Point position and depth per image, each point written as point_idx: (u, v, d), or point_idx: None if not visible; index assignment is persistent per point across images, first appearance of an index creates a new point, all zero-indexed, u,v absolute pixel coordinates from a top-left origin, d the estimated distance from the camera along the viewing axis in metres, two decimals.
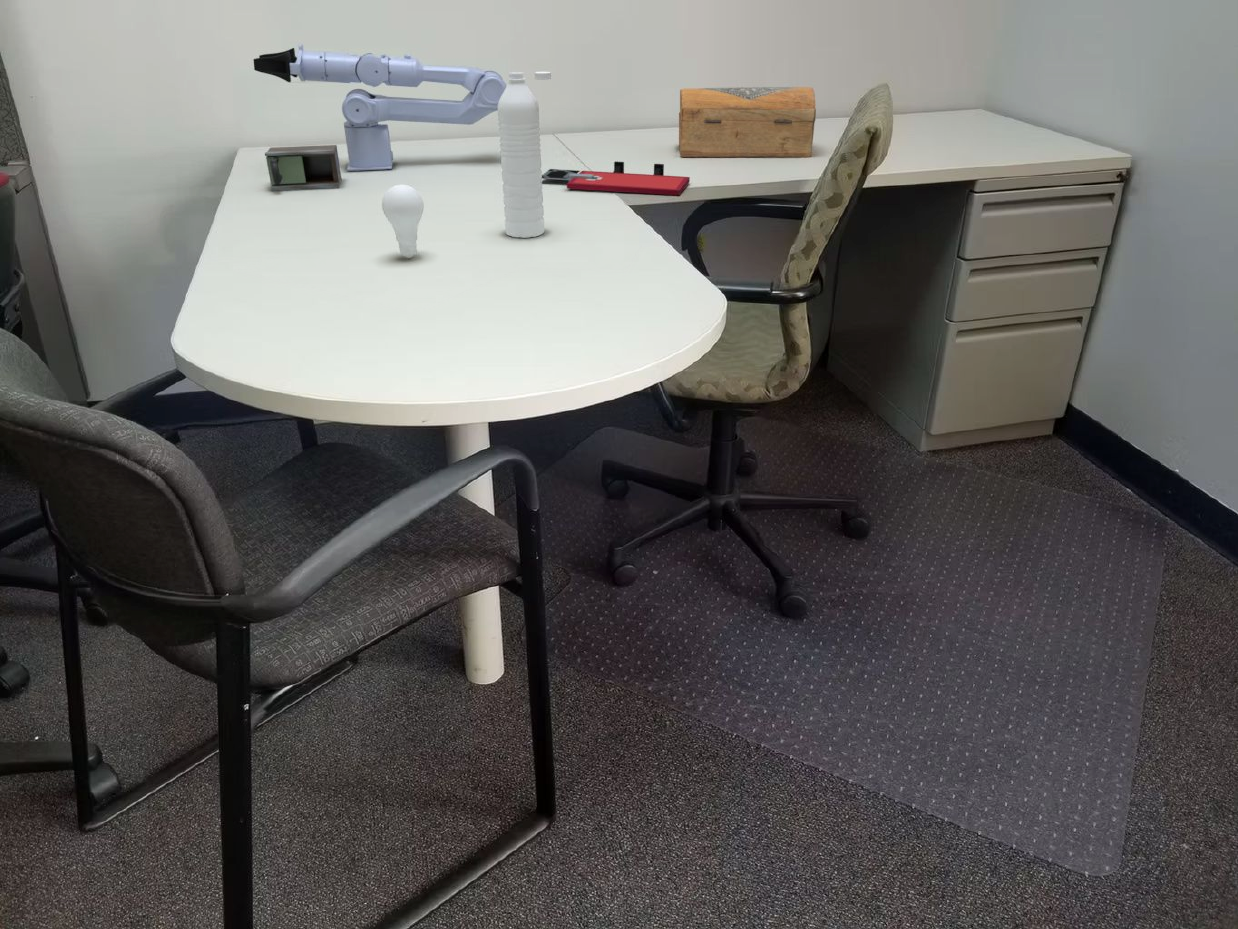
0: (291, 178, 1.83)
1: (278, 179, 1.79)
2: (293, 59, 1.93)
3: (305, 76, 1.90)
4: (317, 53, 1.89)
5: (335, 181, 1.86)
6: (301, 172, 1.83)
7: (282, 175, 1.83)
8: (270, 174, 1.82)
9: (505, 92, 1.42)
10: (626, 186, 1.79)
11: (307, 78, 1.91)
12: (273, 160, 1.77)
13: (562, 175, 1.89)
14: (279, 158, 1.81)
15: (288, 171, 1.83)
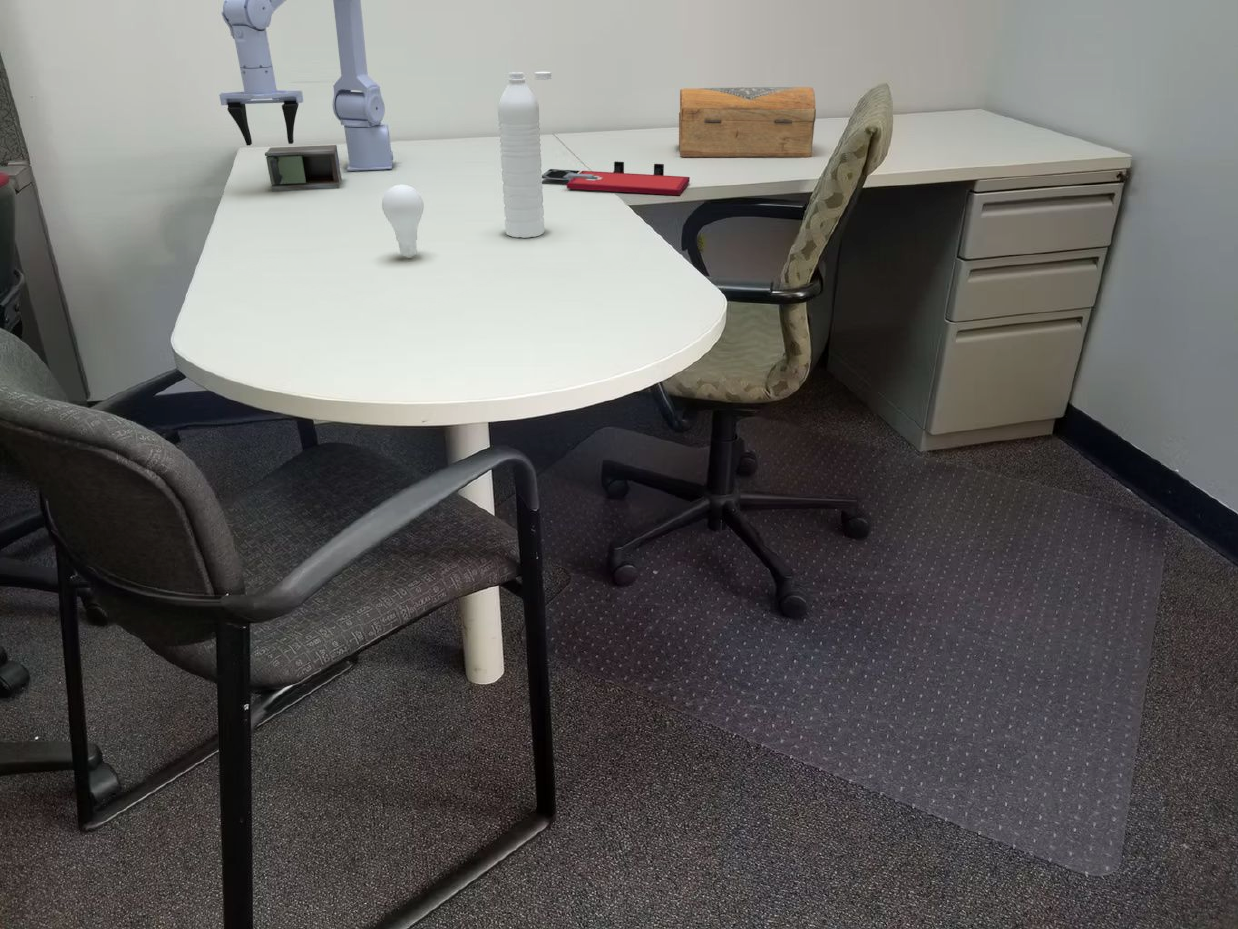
0: (291, 178, 1.83)
1: (278, 179, 1.79)
2: (242, 107, 1.72)
3: None
4: (261, 76, 1.68)
5: (335, 181, 1.86)
6: (301, 172, 1.83)
7: (282, 175, 1.83)
8: (270, 174, 1.82)
9: (505, 92, 1.42)
10: (626, 186, 1.79)
11: None
12: (273, 160, 1.77)
13: (562, 175, 1.89)
14: (279, 158, 1.81)
15: (288, 171, 1.83)
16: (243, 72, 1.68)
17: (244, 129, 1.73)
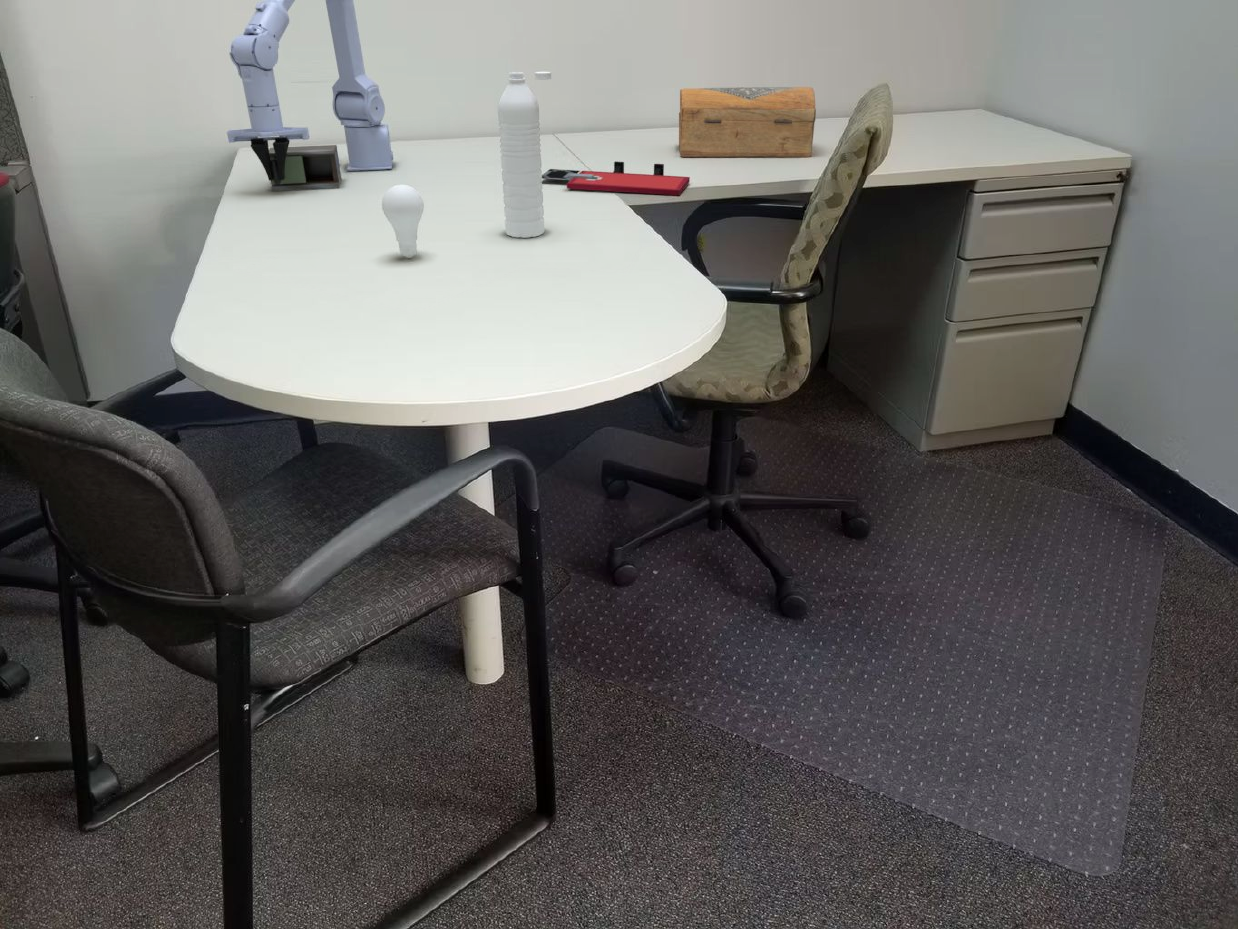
0: (291, 178, 1.83)
1: (278, 179, 1.79)
2: (265, 143, 1.75)
3: None
4: (268, 114, 1.72)
5: (335, 181, 1.86)
6: (301, 172, 1.83)
7: None
8: None
9: (505, 92, 1.42)
10: (626, 186, 1.79)
11: None
12: (273, 160, 1.77)
13: (562, 175, 1.89)
14: None
15: (288, 171, 1.83)
16: (250, 110, 1.71)
17: (267, 165, 1.77)
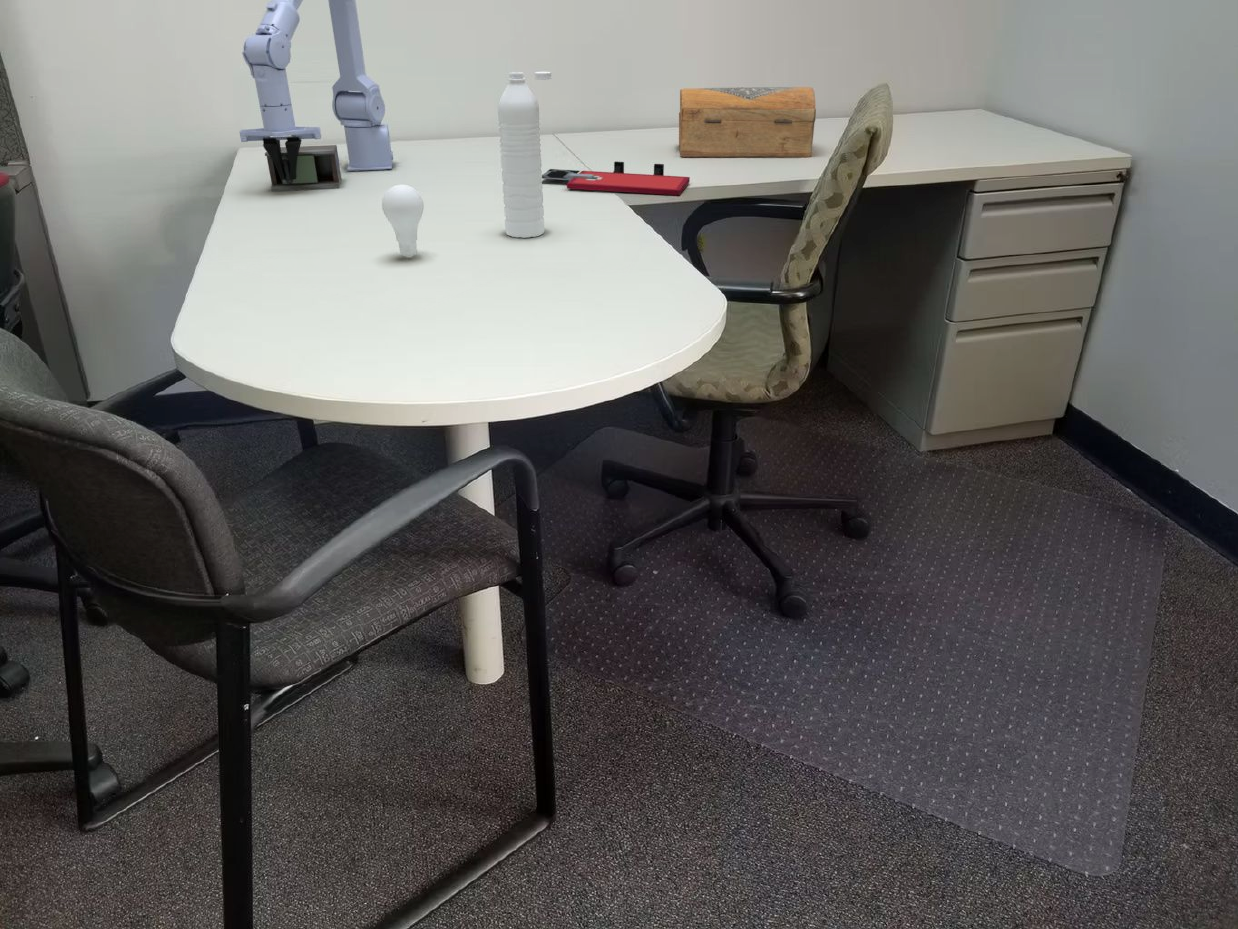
0: (303, 177, 1.84)
1: (290, 178, 1.79)
2: (277, 143, 1.76)
3: None
4: (281, 114, 1.72)
5: (335, 181, 1.86)
6: (313, 171, 1.83)
7: None
8: None
9: (505, 92, 1.42)
10: (626, 186, 1.79)
11: None
12: (285, 159, 1.78)
13: (562, 175, 1.89)
14: None
15: (300, 171, 1.83)
16: (263, 110, 1.72)
17: (279, 164, 1.77)
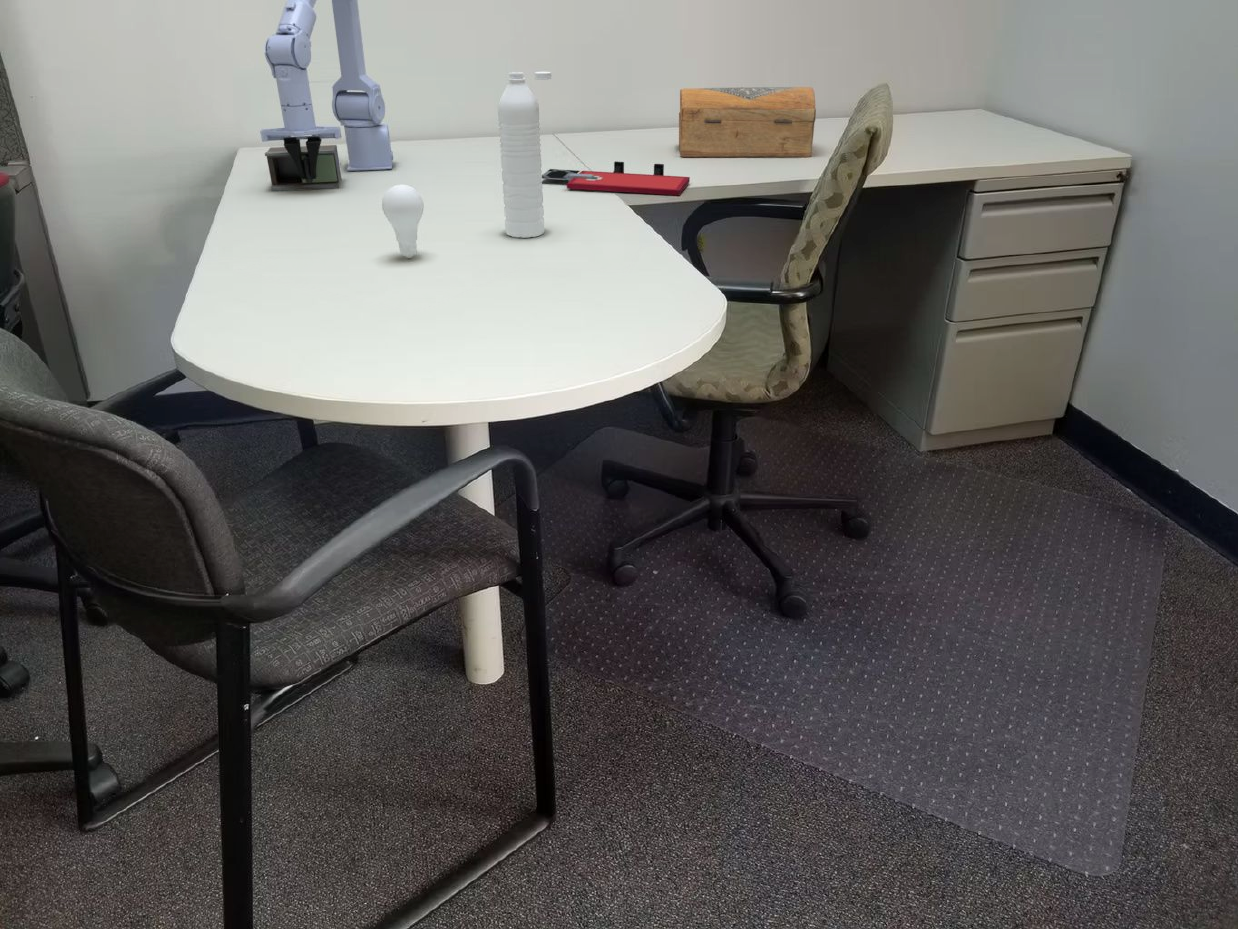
0: (322, 177, 1.84)
1: (310, 178, 1.80)
2: (297, 142, 1.76)
3: None
4: (302, 114, 1.73)
5: None
6: (332, 171, 1.84)
7: None
8: None
9: (505, 92, 1.42)
10: (626, 186, 1.79)
11: None
12: (305, 159, 1.78)
13: (562, 175, 1.89)
14: None
15: (320, 170, 1.84)
16: (284, 110, 1.72)
17: (299, 164, 1.77)
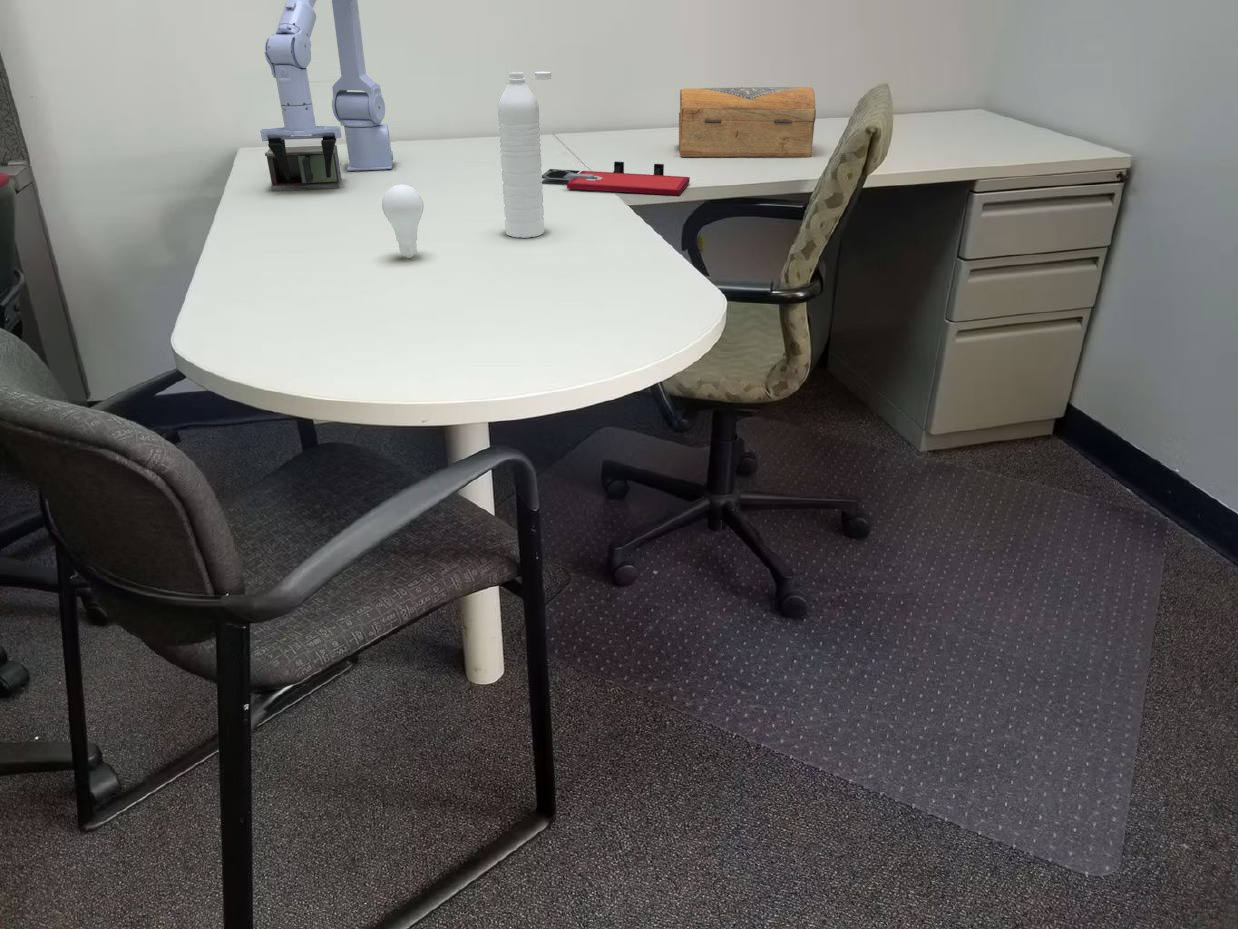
0: (322, 177, 1.84)
1: (310, 178, 1.80)
2: (282, 143, 1.76)
3: None
4: (302, 113, 1.72)
5: None
6: (332, 171, 1.84)
7: (313, 174, 1.84)
8: (301, 173, 1.83)
9: (505, 92, 1.42)
10: (626, 186, 1.79)
11: None
12: (305, 159, 1.78)
13: (562, 175, 1.89)
14: (311, 157, 1.82)
15: (319, 170, 1.84)
16: (284, 109, 1.72)
17: (284, 164, 1.77)
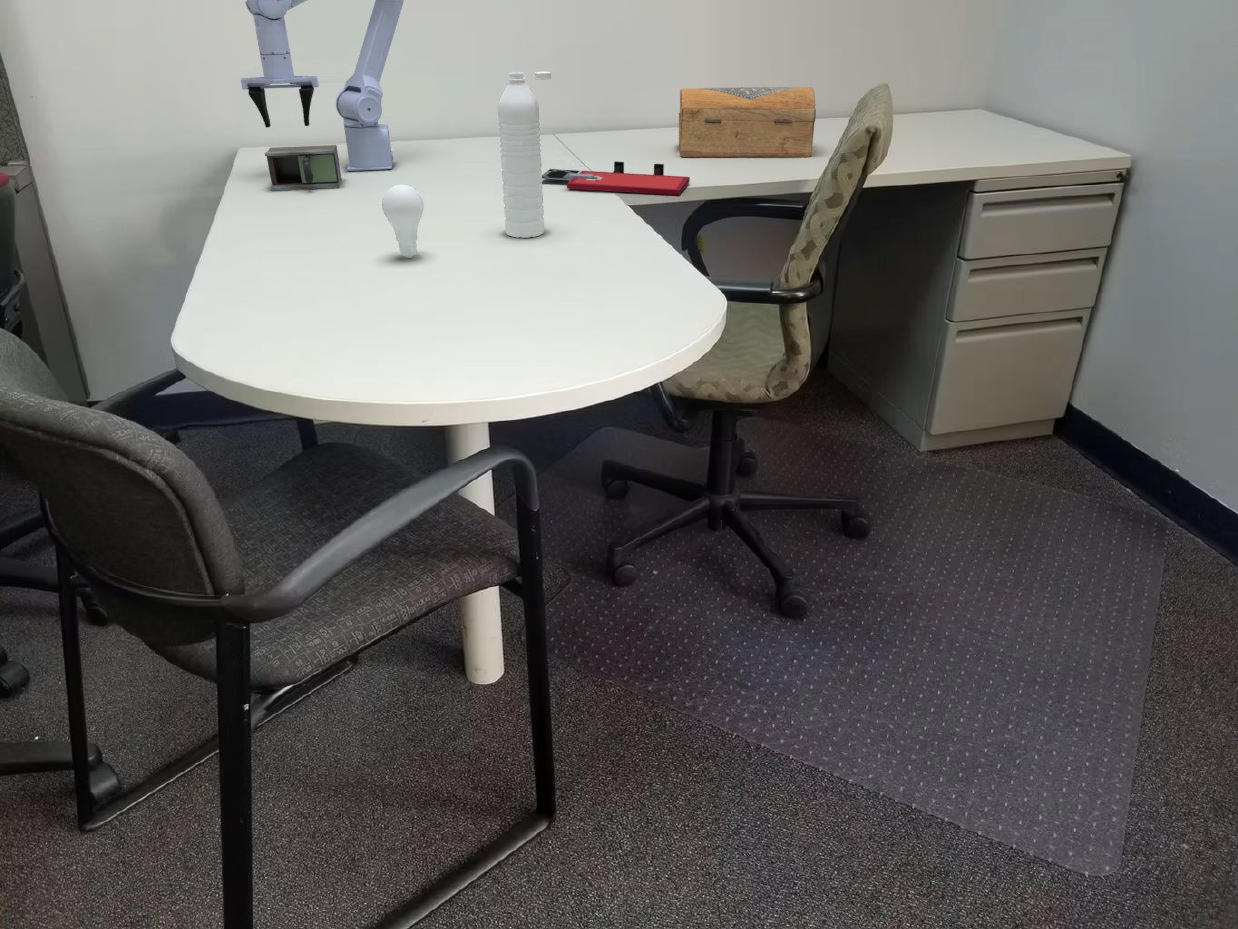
0: (322, 177, 1.84)
1: (310, 178, 1.80)
2: (262, 91, 1.84)
3: None
4: (280, 62, 1.81)
5: None
6: (332, 171, 1.84)
7: (313, 174, 1.84)
8: (301, 173, 1.83)
9: (505, 92, 1.42)
10: (626, 186, 1.79)
11: None
12: (305, 159, 1.78)
13: (562, 175, 1.89)
14: (311, 157, 1.82)
15: (319, 170, 1.84)
16: (263, 58, 1.80)
17: (263, 112, 1.85)
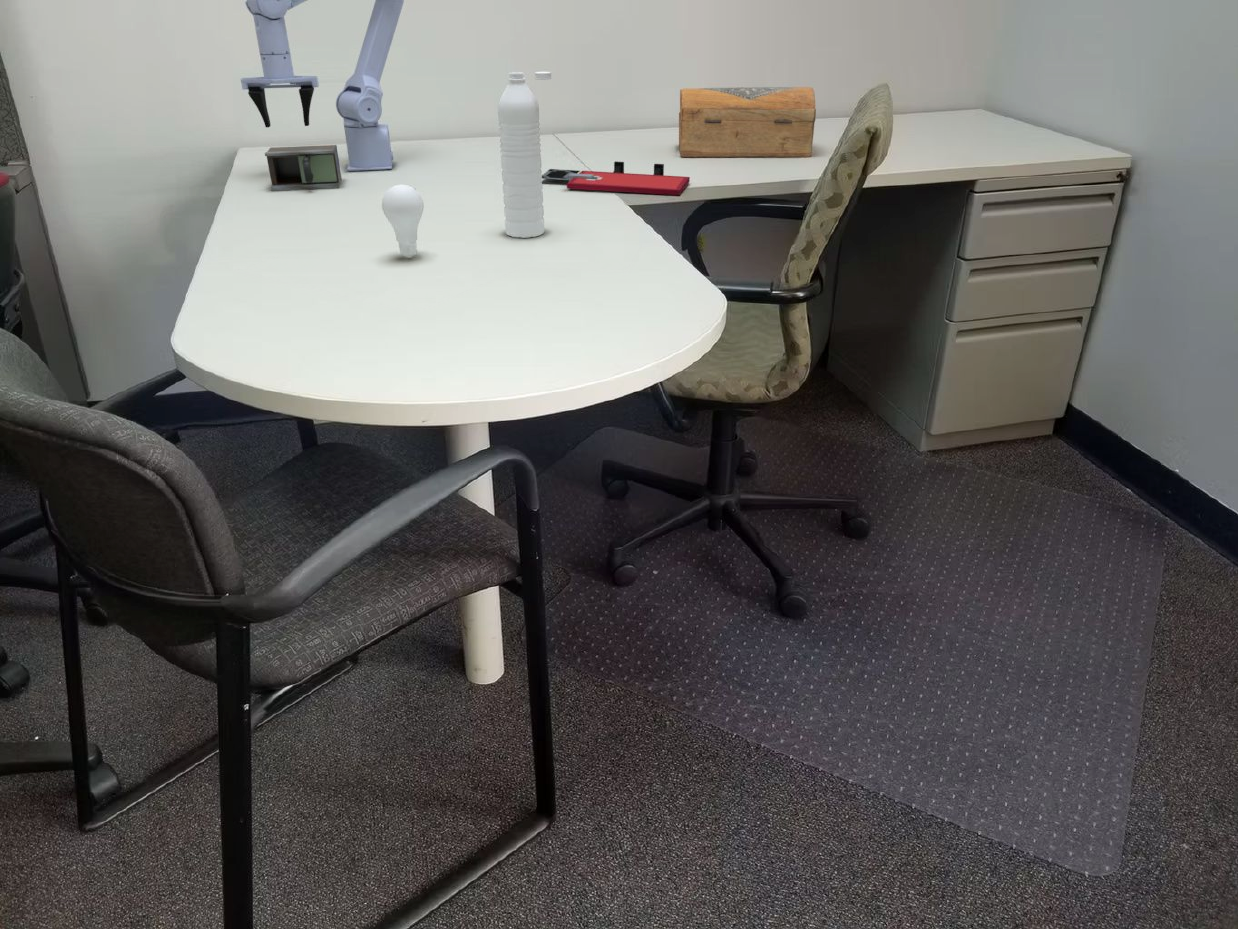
0: (322, 177, 1.84)
1: (310, 178, 1.80)
2: (261, 91, 1.84)
3: None
4: (280, 62, 1.81)
5: None
6: (332, 171, 1.84)
7: (313, 174, 1.84)
8: (301, 173, 1.83)
9: (505, 92, 1.42)
10: (626, 186, 1.79)
11: None
12: (305, 159, 1.78)
13: (562, 175, 1.89)
14: (311, 157, 1.82)
15: (319, 170, 1.84)
16: (263, 58, 1.80)
17: (263, 112, 1.85)
